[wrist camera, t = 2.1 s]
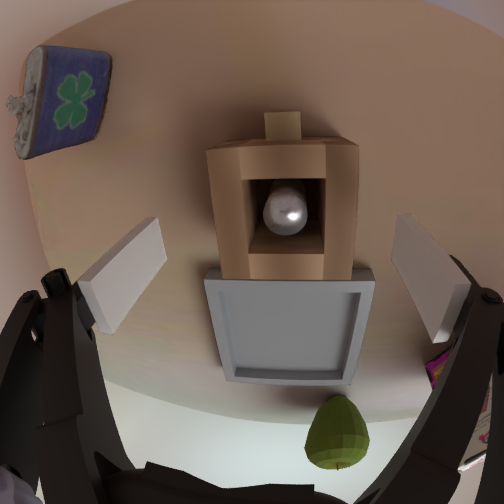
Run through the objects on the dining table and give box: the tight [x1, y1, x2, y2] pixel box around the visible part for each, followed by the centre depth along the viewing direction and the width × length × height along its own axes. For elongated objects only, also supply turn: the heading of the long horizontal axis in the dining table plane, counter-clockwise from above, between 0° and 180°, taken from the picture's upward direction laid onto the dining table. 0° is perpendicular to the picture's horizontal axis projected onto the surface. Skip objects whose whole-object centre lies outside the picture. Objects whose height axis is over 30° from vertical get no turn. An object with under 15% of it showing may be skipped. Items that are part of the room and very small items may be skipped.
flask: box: [6, 45, 112, 160], centre depth 16 cm, size 9×3×11 cm, turn 162°
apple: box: [304, 395, 370, 470], centre depth 30 cm, size 9×8×12 cm
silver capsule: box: [263, 178, 307, 235], centre depth 20 cm, size 3×3×6 cm
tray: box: [203, 268, 376, 386], centre depth 28 cm, size 15×15×2 cm
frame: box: [206, 111, 359, 280], centre depth 19 cm, size 9×11×6 cm
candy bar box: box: [425, 346, 492, 472], centre depth 20 cm, size 11×5×16 cm, turn 142°
